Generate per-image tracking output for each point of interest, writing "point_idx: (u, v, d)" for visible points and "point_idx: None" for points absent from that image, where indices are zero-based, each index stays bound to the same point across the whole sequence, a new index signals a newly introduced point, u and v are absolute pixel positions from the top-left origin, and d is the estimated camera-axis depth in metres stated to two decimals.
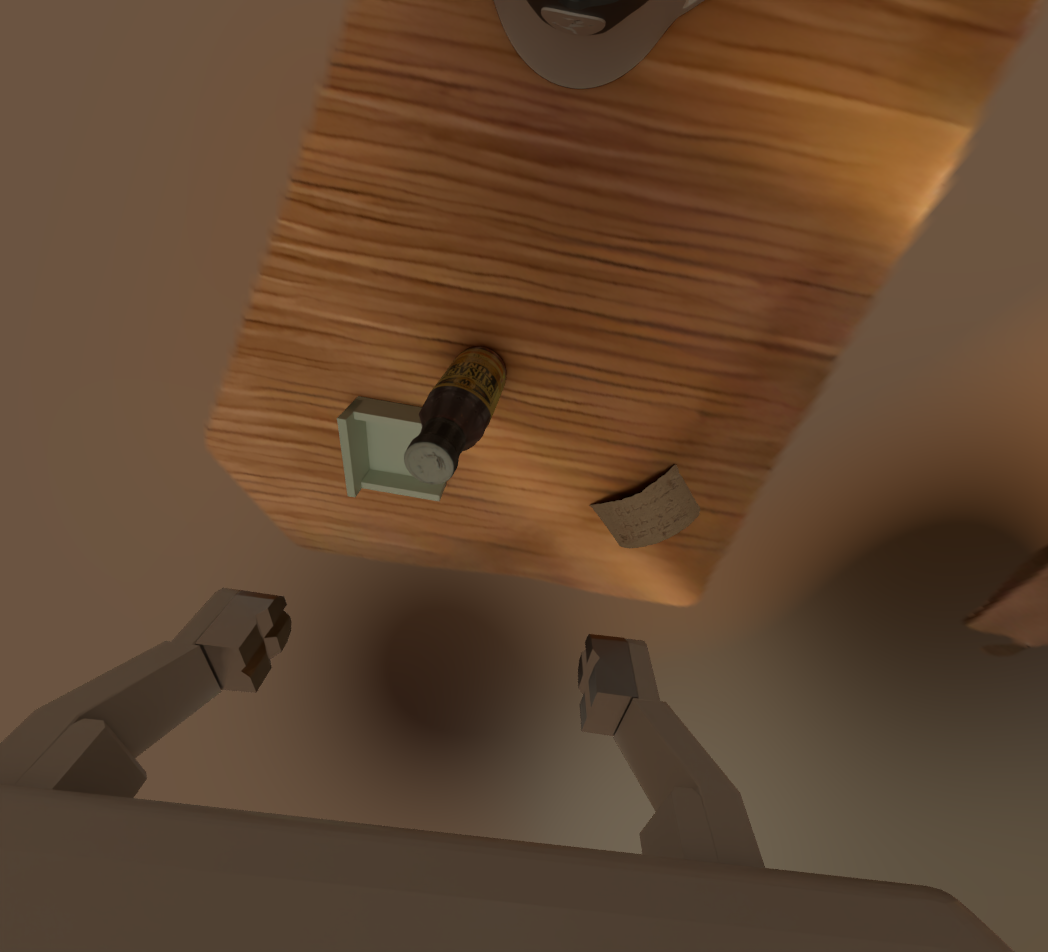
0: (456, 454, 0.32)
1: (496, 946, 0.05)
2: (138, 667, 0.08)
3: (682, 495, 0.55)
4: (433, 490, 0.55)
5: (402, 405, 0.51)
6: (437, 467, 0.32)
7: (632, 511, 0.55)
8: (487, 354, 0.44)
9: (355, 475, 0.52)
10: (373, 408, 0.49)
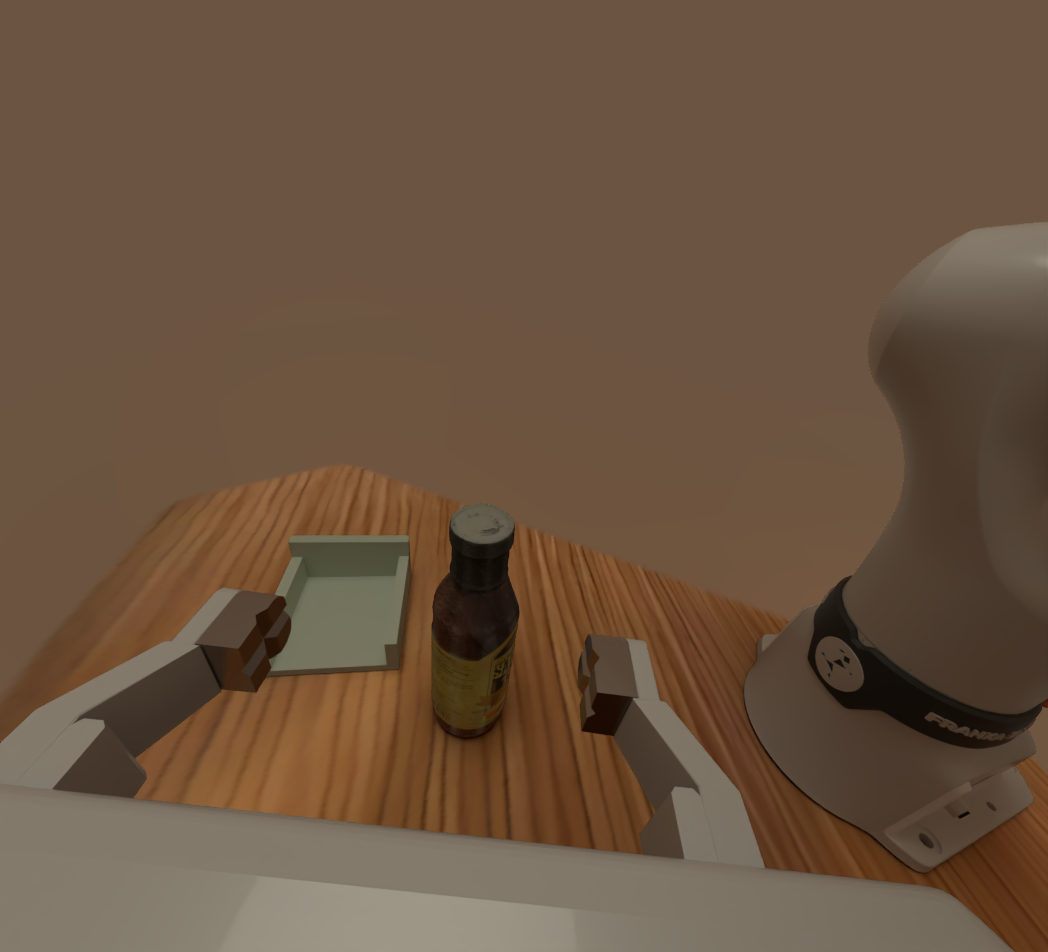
0: (495, 555, 0.24)
1: (496, 946, 0.05)
2: (138, 667, 0.08)
3: None
4: None
5: (405, 613, 0.42)
6: (481, 529, 0.25)
7: None
8: (506, 693, 0.34)
9: (322, 547, 0.41)
10: (407, 578, 0.43)
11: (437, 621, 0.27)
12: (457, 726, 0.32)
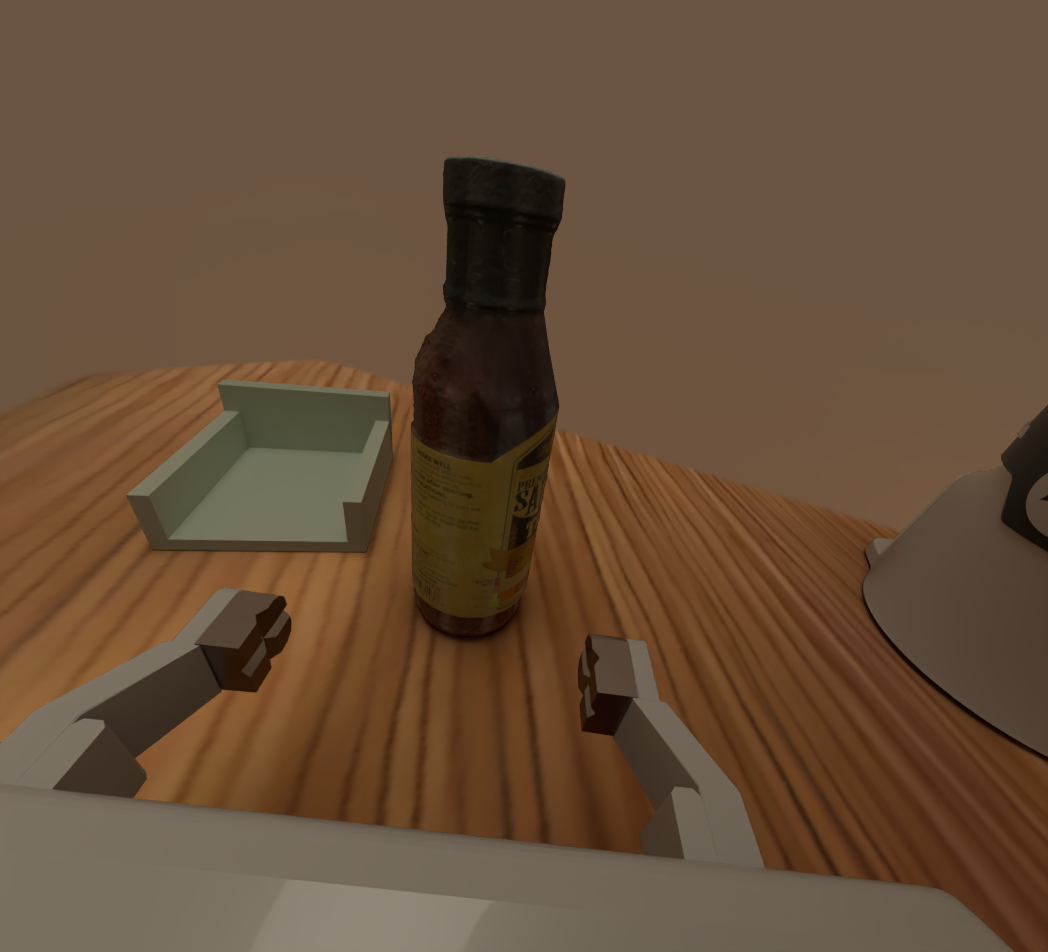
0: (532, 205, 0.12)
1: (496, 946, 0.05)
2: (138, 667, 0.08)
3: None
4: (164, 496, 0.22)
5: (381, 492, 0.30)
6: None
7: None
8: (528, 573, 0.22)
9: (266, 397, 0.30)
10: (386, 449, 0.31)
11: (419, 390, 0.15)
12: (451, 611, 0.20)
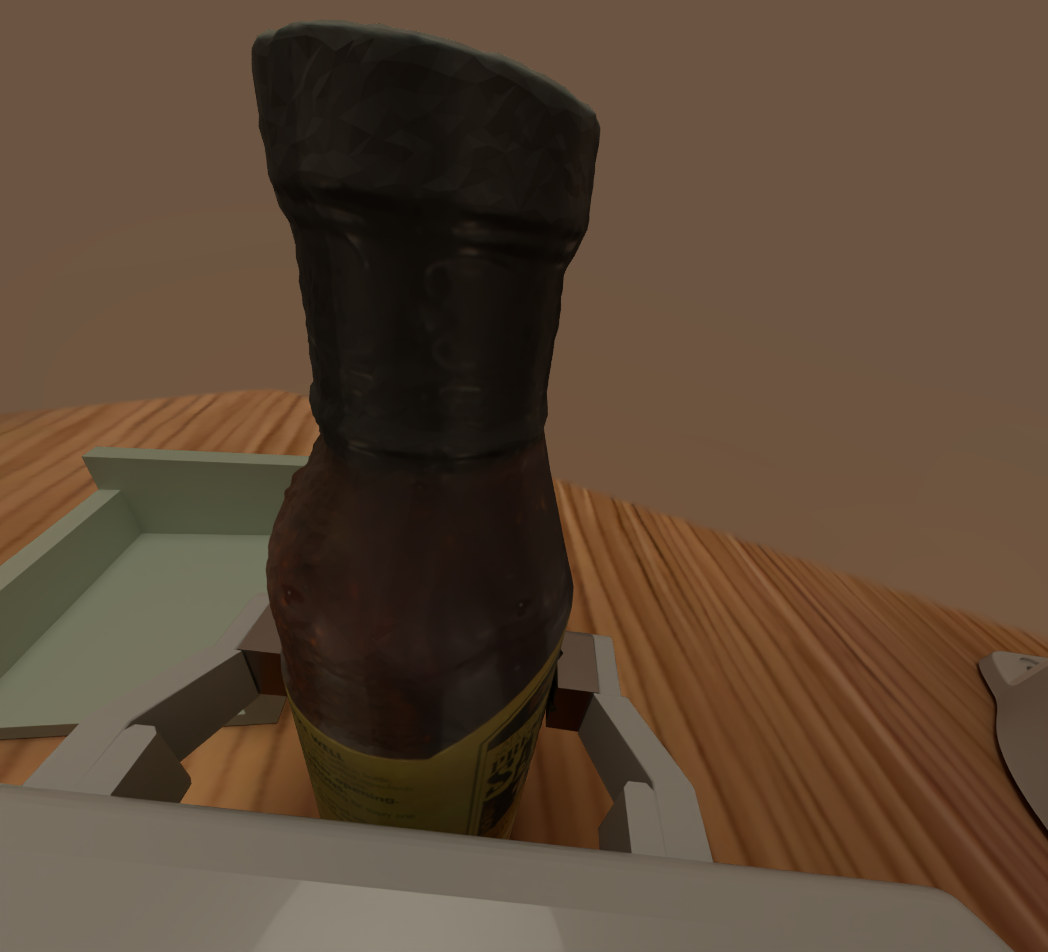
0: (507, 190, 0.04)
1: (496, 946, 0.05)
2: (183, 672, 0.08)
3: None
4: None
5: None
6: None
7: None
8: None
9: (156, 471, 0.21)
10: None
11: (270, 603, 0.07)
12: None
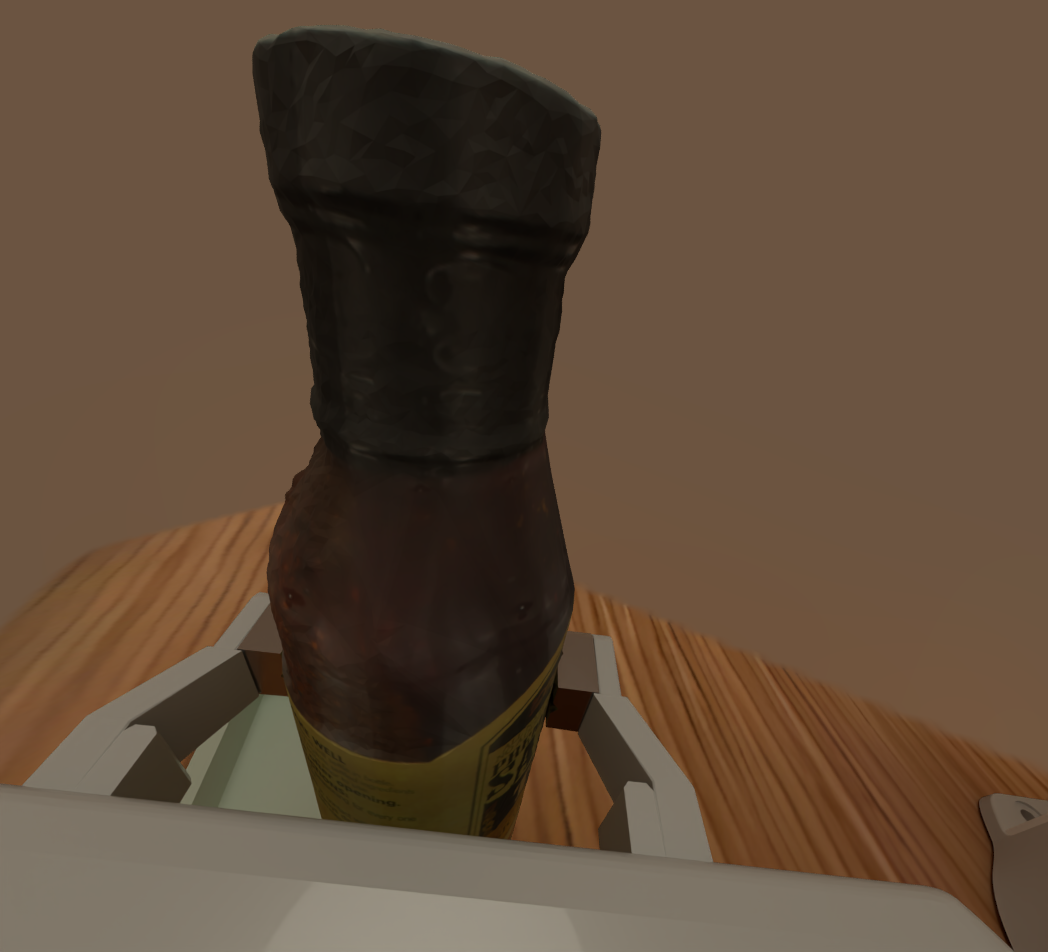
0: (508, 194, 0.04)
1: (496, 946, 0.05)
2: (184, 672, 0.08)
3: None
4: None
5: None
6: None
7: None
8: None
9: None
10: None
11: (271, 606, 0.07)
12: None
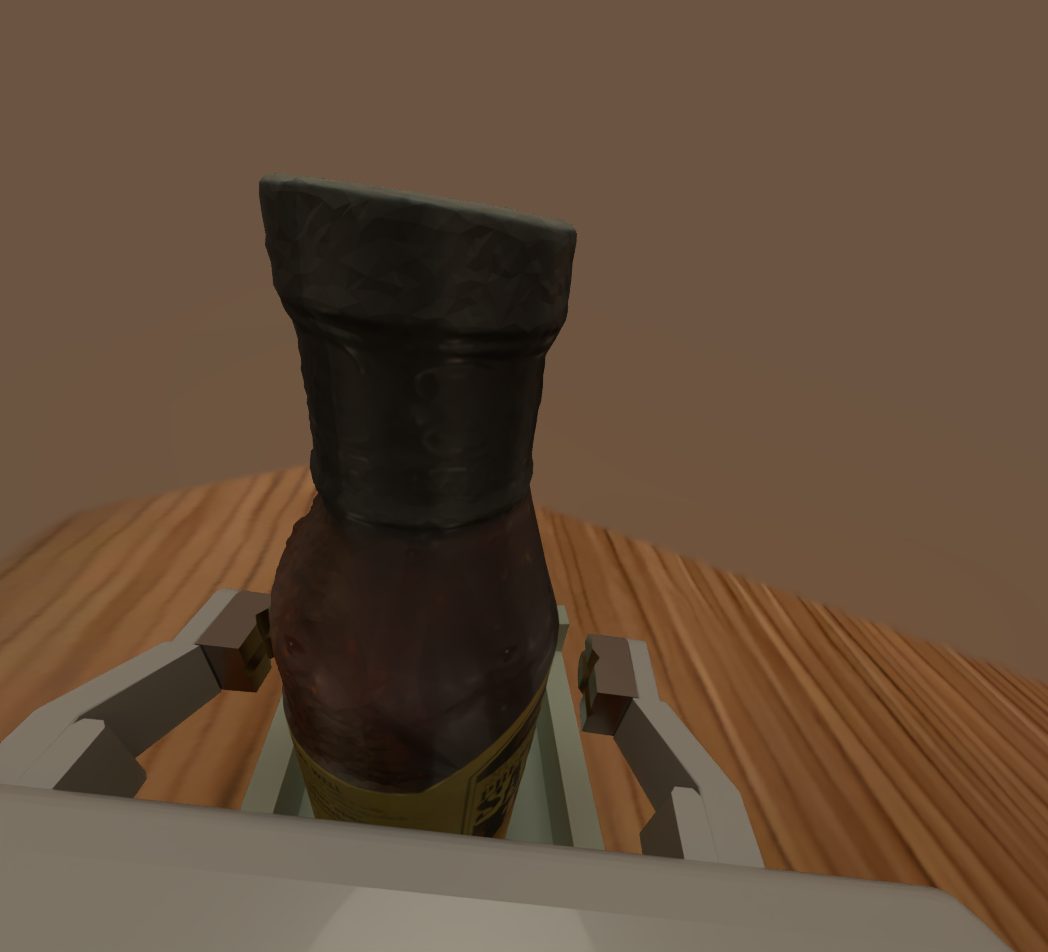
0: (488, 312, 0.05)
1: (496, 946, 0.05)
2: (138, 667, 0.08)
3: None
4: None
5: None
6: None
7: None
8: None
9: None
10: None
11: (273, 648, 0.07)
12: None
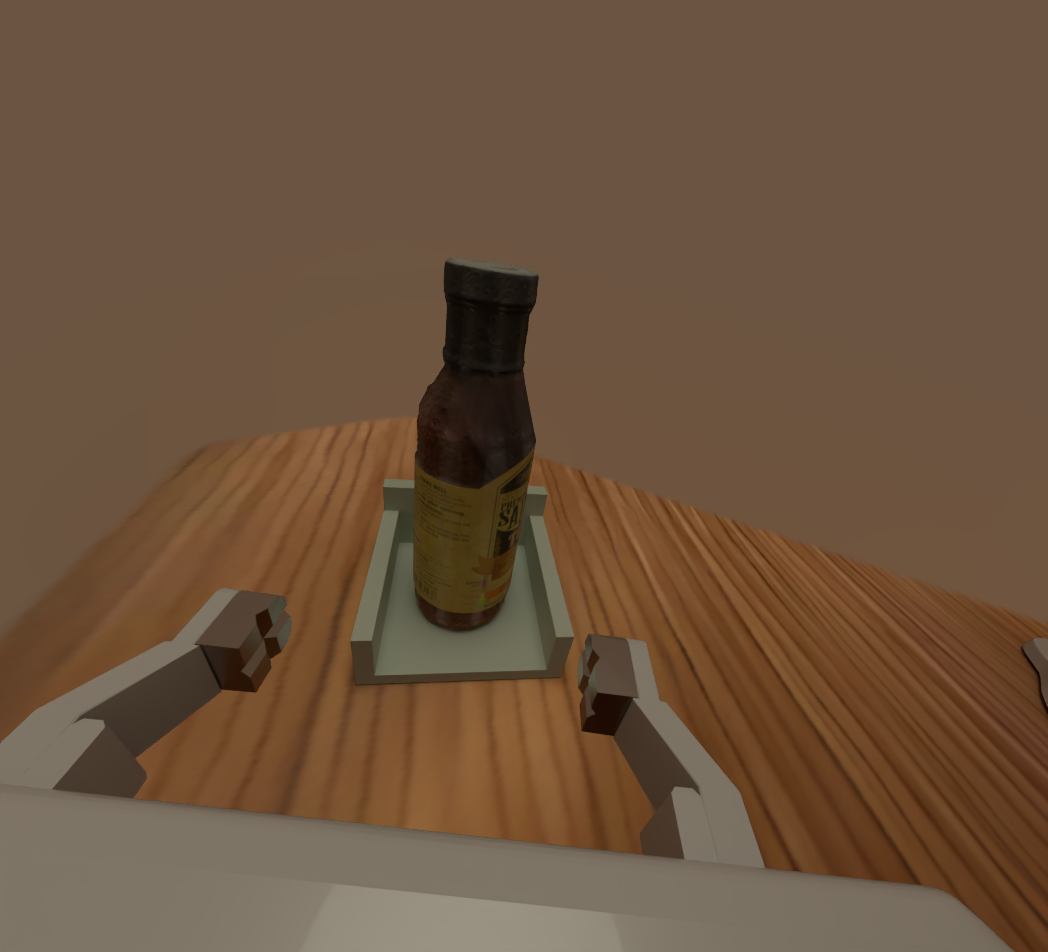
0: (511, 299, 0.16)
1: (496, 946, 0.05)
2: (138, 667, 0.08)
3: None
4: (375, 633, 0.22)
5: None
6: (491, 266, 0.17)
7: None
8: (511, 576, 0.26)
9: None
10: None
11: (422, 430, 0.19)
12: (446, 607, 0.24)
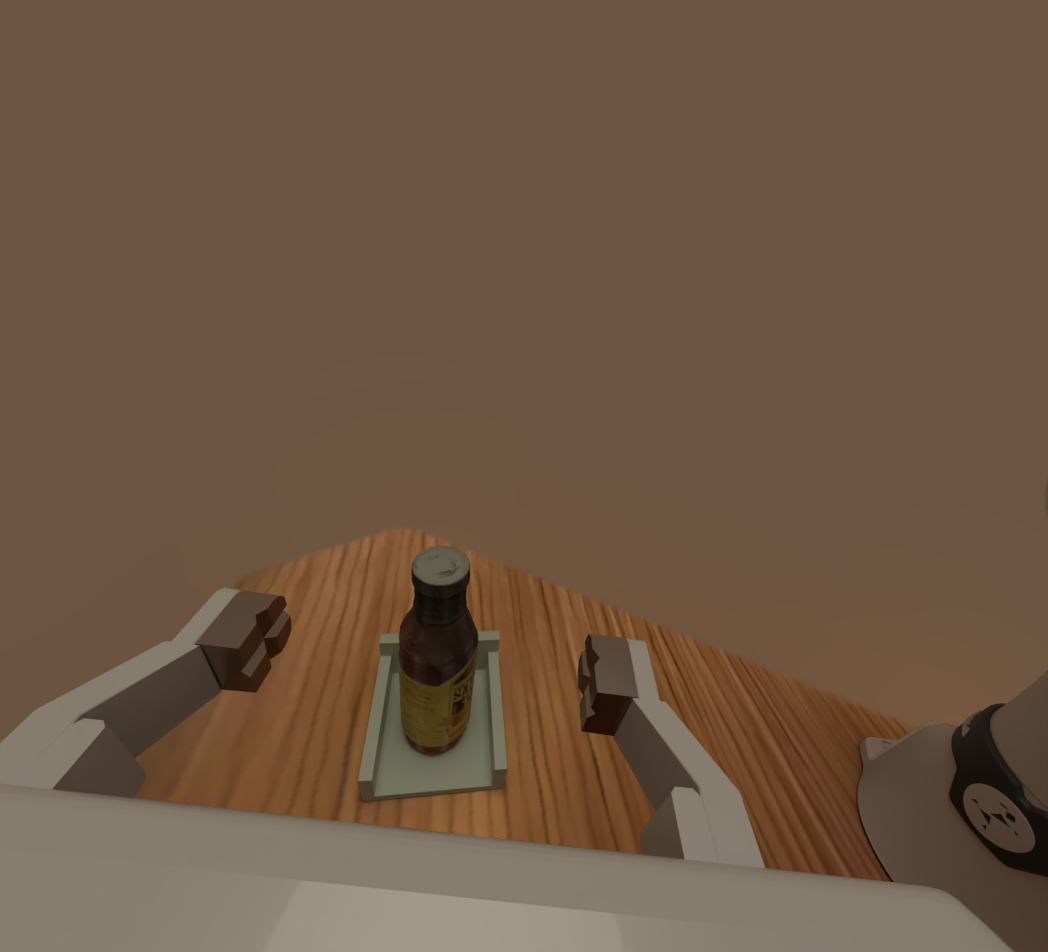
0: (451, 594, 0.27)
1: (496, 946, 0.05)
2: (138, 667, 0.08)
3: None
4: (374, 770, 0.33)
5: None
6: (439, 570, 0.28)
7: None
8: (469, 713, 0.37)
9: None
10: None
11: (402, 650, 0.30)
12: (422, 744, 0.35)
